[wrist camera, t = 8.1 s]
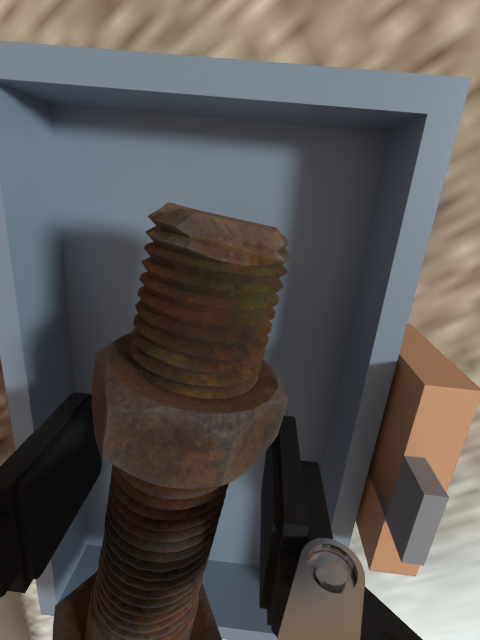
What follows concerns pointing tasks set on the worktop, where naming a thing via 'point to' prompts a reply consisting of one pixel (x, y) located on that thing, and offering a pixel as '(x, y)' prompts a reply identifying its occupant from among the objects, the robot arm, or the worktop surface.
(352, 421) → the tray
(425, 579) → the worktop surface
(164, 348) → the bolt
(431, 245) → the worktop surface
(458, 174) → the worktop surface
